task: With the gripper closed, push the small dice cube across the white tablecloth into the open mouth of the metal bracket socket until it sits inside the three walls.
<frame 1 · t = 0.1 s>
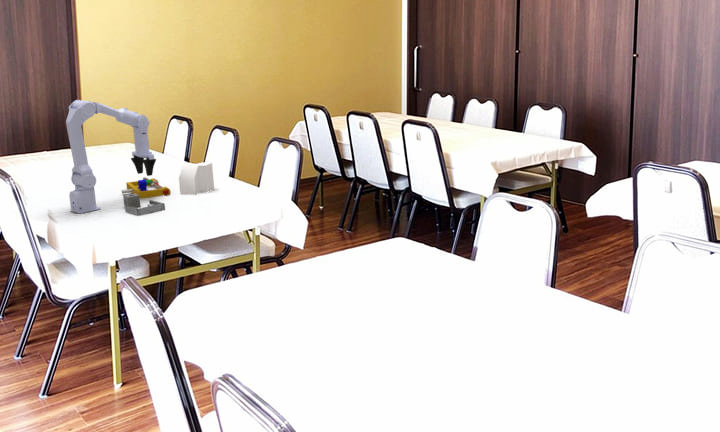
hand: (145, 174, 333), 10 cm above the table, tool pointing down, fingers open, 7 cm apart
bracket socket: (144, 210, 312), on the table
corner bracket: (197, 192, 343), on the table
dice cube: (132, 207, 319), on the table
multicolour toy assembly: (142, 193, 347), on the table
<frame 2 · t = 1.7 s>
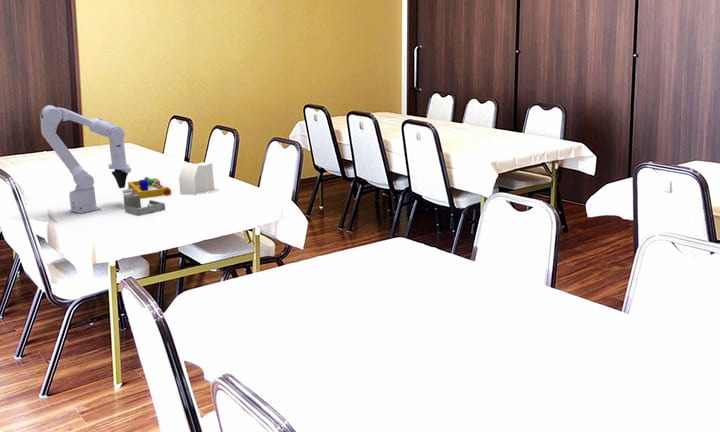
hand: (122, 187, 322), 7 cm above the table, tool pointing down, fingers closed
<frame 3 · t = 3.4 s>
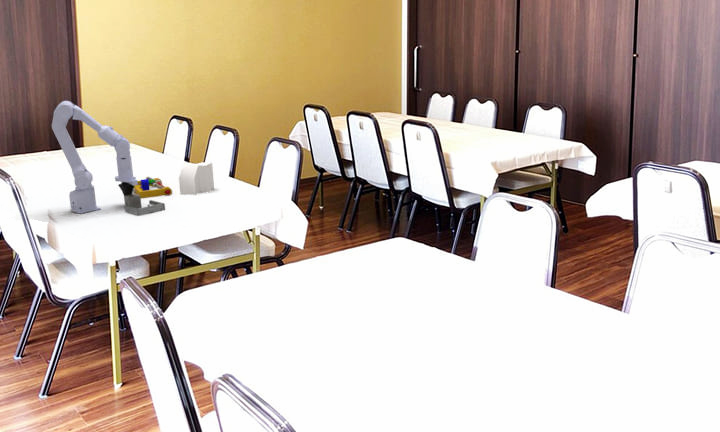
hand: (128, 200, 320), 2 cm above the table, tool pointing down, fingers closed
dice cube: (133, 208, 318), on the table, touching gripper
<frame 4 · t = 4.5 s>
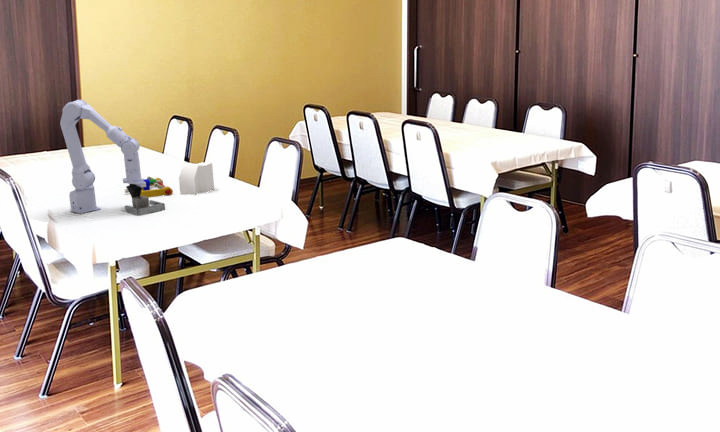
hand: (136, 202, 315), 2 cm above the table, tool pointing down, fingers closed
dice cube: (141, 210, 313), on the table, touching gripper
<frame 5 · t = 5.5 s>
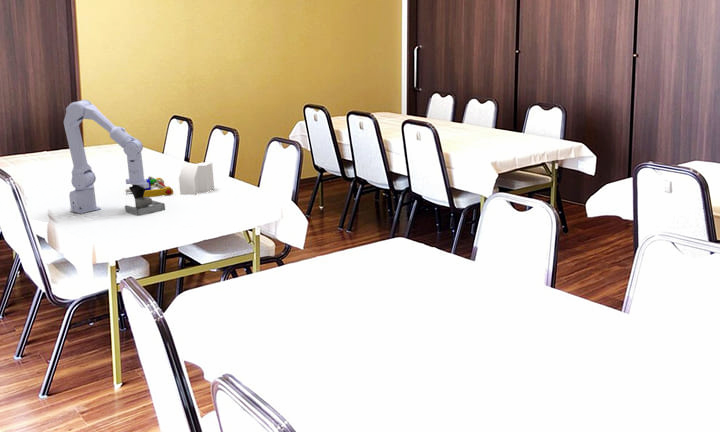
hand: (139, 203, 314), 2 cm above the table, tool pointing down, fingers closed
dice cube: (144, 211, 312), on the table, touching gripper
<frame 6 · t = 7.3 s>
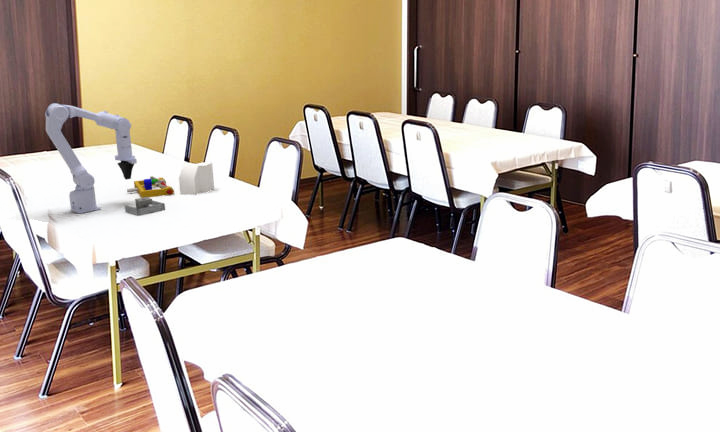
hand: (127, 179, 323), 10 cm above the table, tool pointing down, fingers closed
dice cube: (144, 211, 311), on the table
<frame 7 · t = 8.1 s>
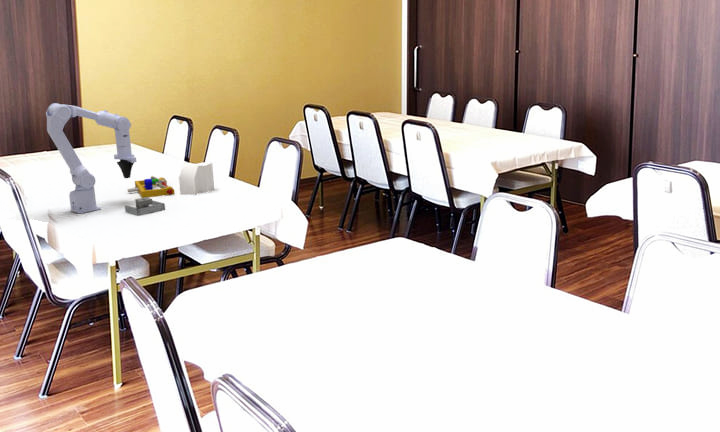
hand: (127, 177, 325), 10 cm above the table, tool pointing down, fingers closed
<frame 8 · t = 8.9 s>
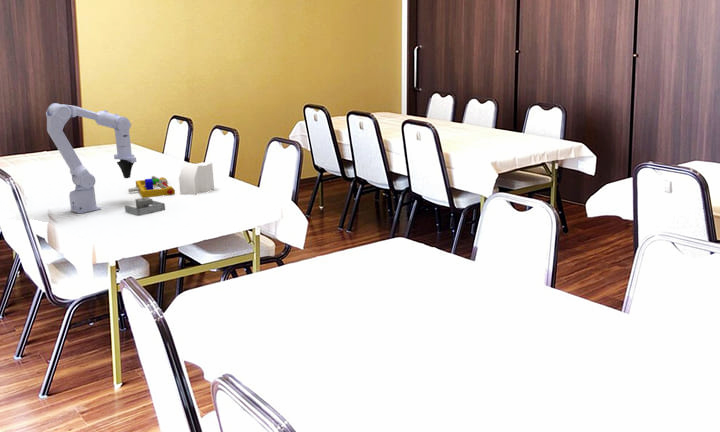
hand: (127, 177, 325), 10 cm above the table, tool pointing down, fingers closed
at the end: dice cube inside the target area on the bracket socket (0.6 cm from its centre), point 0.0 cm above the bracket socket's base; dice cube moved 10.6 cm from its start; the gripper is holding nothing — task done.
